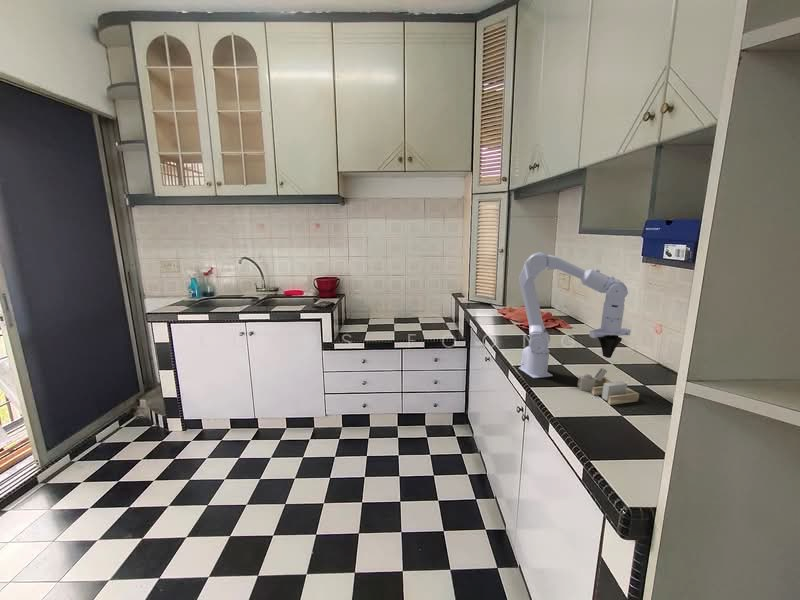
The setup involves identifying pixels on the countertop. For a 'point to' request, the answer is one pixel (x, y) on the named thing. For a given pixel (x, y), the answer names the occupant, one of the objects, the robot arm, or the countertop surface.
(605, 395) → the grey block
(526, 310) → the robot arm
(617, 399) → the rack
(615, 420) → the countertop surface
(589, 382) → the lighter
